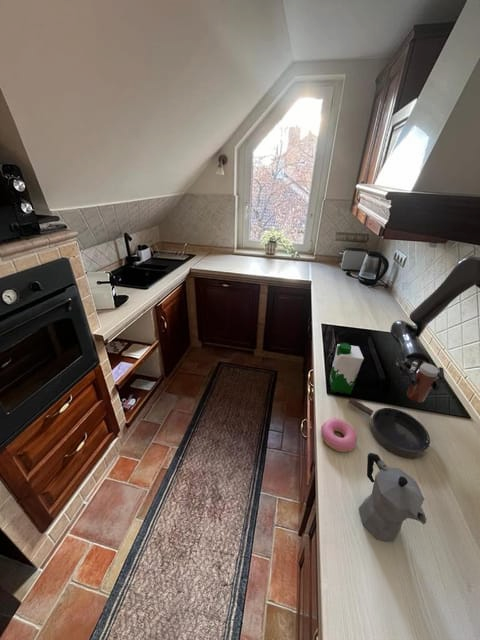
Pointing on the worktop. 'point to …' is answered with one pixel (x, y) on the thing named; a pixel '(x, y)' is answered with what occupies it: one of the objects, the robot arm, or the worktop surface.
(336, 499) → the worktop surface
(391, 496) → the coffeepot
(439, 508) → the worktop surface
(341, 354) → the milk carton
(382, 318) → the worktop surface
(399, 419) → the pan
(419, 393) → the shaker
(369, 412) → the pan handle
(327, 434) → the doughnut
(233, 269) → the worktop surface
